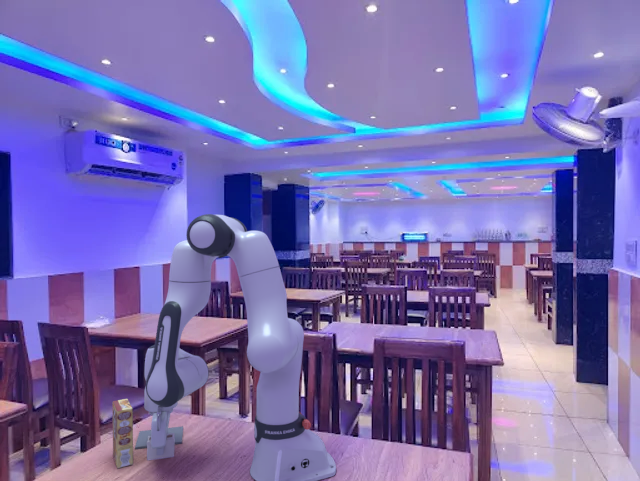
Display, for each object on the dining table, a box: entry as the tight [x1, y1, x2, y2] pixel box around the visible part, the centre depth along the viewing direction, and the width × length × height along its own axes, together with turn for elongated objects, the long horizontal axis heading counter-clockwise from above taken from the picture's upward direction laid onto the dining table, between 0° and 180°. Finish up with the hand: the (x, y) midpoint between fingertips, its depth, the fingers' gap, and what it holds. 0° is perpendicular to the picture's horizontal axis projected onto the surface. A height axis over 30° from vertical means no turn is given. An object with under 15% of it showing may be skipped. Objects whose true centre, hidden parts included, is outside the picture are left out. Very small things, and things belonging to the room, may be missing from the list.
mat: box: [134, 425, 184, 450], centre depth 131 cm, size 13×11×1 cm
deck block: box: [146, 433, 176, 461], centre depth 120 cm, size 7×4×5 cm, turn 106°
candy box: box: [112, 398, 134, 469], centre depth 118 cm, size 9×4×15 cm, turn 33°
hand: (161, 449), depth 120 cm, fingers closed on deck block, 4 cm apart
